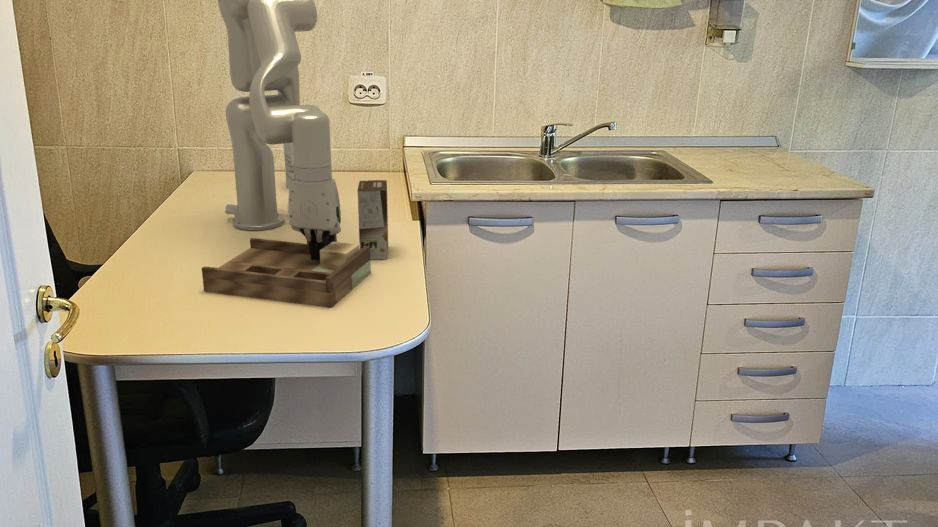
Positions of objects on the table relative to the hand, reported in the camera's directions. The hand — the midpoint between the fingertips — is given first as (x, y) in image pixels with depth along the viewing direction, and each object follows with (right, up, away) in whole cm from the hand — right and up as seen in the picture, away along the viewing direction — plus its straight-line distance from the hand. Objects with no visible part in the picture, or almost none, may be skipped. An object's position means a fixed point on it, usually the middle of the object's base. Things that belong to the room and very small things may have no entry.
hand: (317, 258), depth 182 cm
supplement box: (-15, +20, +67) cm, 72 cm away
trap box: (-5, -5, -2) cm, 8 cm away
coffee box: (+10, +1, +15) cm, 19 cm away
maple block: (+5, -2, -1) cm, 5 cm away
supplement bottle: (-2, +2, +17) cm, 17 cm away
